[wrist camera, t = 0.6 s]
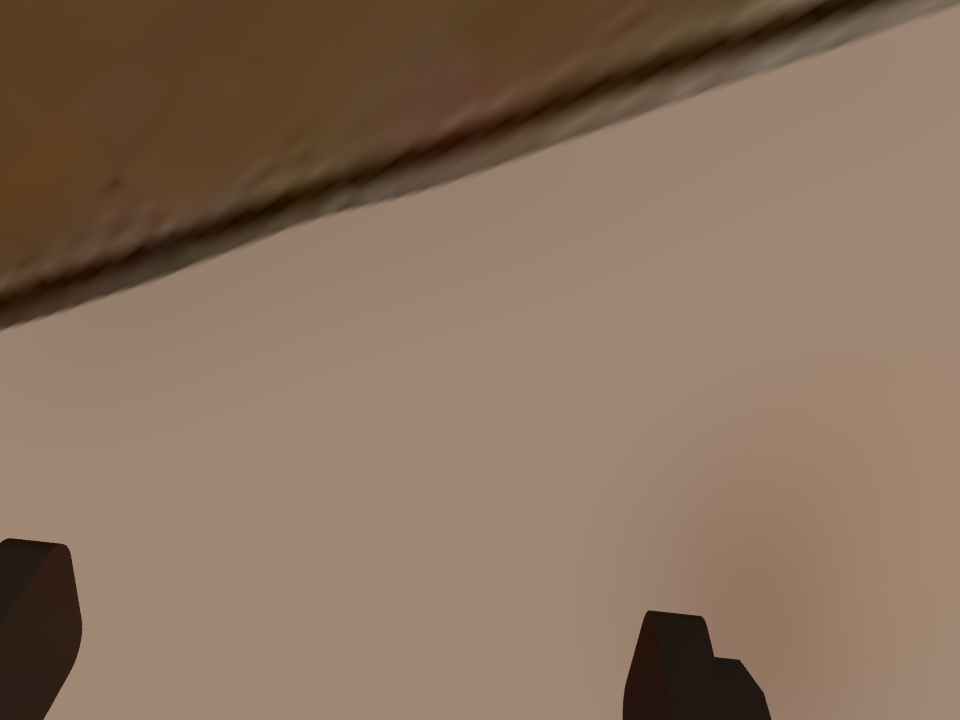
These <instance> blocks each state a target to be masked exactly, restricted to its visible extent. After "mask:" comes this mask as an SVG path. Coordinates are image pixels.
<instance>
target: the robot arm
mask: <svg viewBox="0 0 960 720" xmlns="http://www.w3.org/2000/svg"><path fill="white" fill-rule="evenodd" d="M81 636H82V619H81V613H80V607H79V601H78V595H77V589H76V583H75V577H74V571H73V565H72V559H71V554H70V551H69V549H68V547H67V546H66V545H64V544H58V543H49V542H40V541H31V540H22V539H11V538H9V539H5V540H4V541H2V542H1V543H0V720H43V719H44V718H45V716H46V714H47V712H48V711H49V709H50V707H51V705H52V703H53V702H54V700H55V698H56V696H57V694H58V693H59V691H60V689H61V687H62V686H63V684H64V682H65V680H66V678H67V677H68V675H69V673H70V671H71V669H72V667H73V665H74V663H75V660H76V657H77V654H78V651H79V647H80V643H81ZM623 720H771V717H770V713H769V710H768V706H767V703H766V700H765V696H764V693H763V691H762V690H761V689H760V687H759V686H758V685H757V683H756V682H755V680H754V679H753V678H752V676H751V675H750V674H749V672H748V671H747V670H746V668H745V667H744V665H743V664H742V663H741V661H740V660H736V659H726V658H717V657H714V654H713V649H712V645H711V641H710V637H709V633H708V629H707V625H706V622H705V620H704V619H703V617H701V616H695V615H686V614H677V613H668V612H659V611H648V612H647V613H646V615H645V617H644V620H643V623H642V627H641V630H640V634H639V638H638V641H637V645H636V648H635V652H634V656H633V660H632V663H631V667H630V670H629V674H628V678H627V681H626V685H625V691H624V699H623Z"/></svg>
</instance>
